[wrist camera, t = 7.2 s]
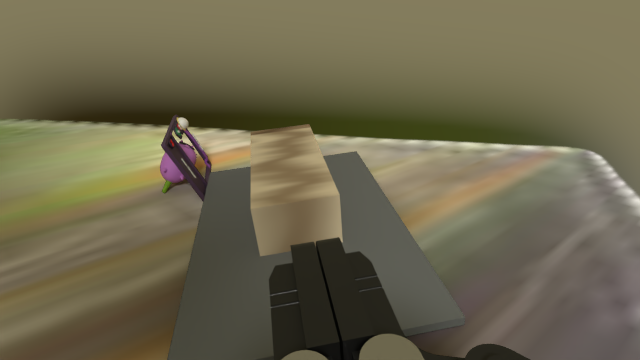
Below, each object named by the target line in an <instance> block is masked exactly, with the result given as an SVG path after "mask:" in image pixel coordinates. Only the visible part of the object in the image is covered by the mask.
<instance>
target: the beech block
mask: <svg viewBox="0 0 640 360" xmlns="http://www.w3.org/2000/svg"><path fill="white" fill-rule="evenodd" d="M250 209H251V214H252V219H253V224H254V229H255V234H256V238H257V243H258V248H259V253H260V256H266V255H271V254H277V253H283V252H289V251H291V247H290V245H295V244H301V243H308V242H314V243H315V247H316V241H319V240H325V239H331V238H337V237H339V238H340V240H341V242H343V237H342V222H341V207H340V194H339V192H338V190H337V188H336V185H335V183H334V181H333V178H332V176H331V174H330V171H329V169H328V167H327V164H326V162H325V160H324V158H323V155H322V153H321V151H320V148H319V146H318V144H317V141H316V139H315V137H314V134H313V132H312V130H311V128H310V125H309V124H307V125H299V126H291V127H285V128H277V129H269V130H262V131H254V132H251V207H250Z"/></svg>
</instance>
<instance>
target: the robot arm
mask: <svg viewBox="0 0 640 360" xmlns="http://www.w3.org/2000/svg"><path fill="white" fill-rule="evenodd" d="M290 247H291V254H292V261H293V263H287V264H282V265H276V266H275V267H274V269H273V271H272V273H271V275H270V278H269V291H270V306H271V323H272V338H273V354H274V360H530V359H528V358H526V357H524V356H522V355H520V354H518V353H516V352H514V351H513V350H511V349H508V348H506V347H503V346H500V345H495V344H482V345H478V346H476V347H474V348H472V349H471V350H470V351H469V352H468V353H467V355H466V357H465V358H458V357H449V356H440V355H434V354H431V353H428V352H425V351H423V350H421V349H419V348H418V347H416V346H415V345H414V344H413V343H412V342H411V341H409V340H408V339H407V338H406V336H405V335H404V333H403V331H402V329H401V327H400V325H399V323H398V320H397V318H396V316H395V314H394V311H393V309H392V307H391V305H390V302H389V300H388V298H387V296H386V293H385V291H384V289H383V288H382V284H381V282H380V280H379V278H378V277H377V273H376V271H375V269H374V266H373V264H372V262H371V261H370V260H369V259H368V258H367V257H366V256H364V255H363V254H362V253H361V252H360V251H357V252H351V253H345V251H344V248H343V245H342V242H341V240H340V238H339V237H337V238H331V239H325V240H319V241H316V247H315V243H314V242H308V243H301V244H295V245H290Z"/></svg>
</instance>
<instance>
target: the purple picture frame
mask: <svg viewBox="0 0 640 360" xmlns="http://www.w3.org/2000/svg"><path fill="white" fill-rule="evenodd" d="M187 127H188V121H187V120H186V119H185V118H179V117H178V115H175V116H174V117H173V119H172V121H171V123H170V126H169V128H168V130H167V133H166V135H165V137H164V140H163V142H162V144H161V146H162V148H163V149H164V151H165V154H164V156H163V158H162V161H161V165H160V171H161V174H162V176H163V178H164V179H165V180H166V183H165V185H164V187H163V190H162V192H163V193H166V192H167V190H168V188H169V186H170V185H171V183H178V182H181V181H183V180H184V179H185V178H186V180H187V181H188V182H189V183H190V185H191V186H192V187H193V189H194V190H195V191H196V193H197V194H198V195H199V197H200V198H201V199H202V201H203V202H204V197H205V193H206V188H207V184H208V180H209V175H210V173H211V162H210V161H209V160H208V157H207V155H206V153H205V152H204V149H203V148H202V146H201V145H200V144H199V142H198V141H197V139H196V138H195V136H194V135H193V134H192V135H193V136H194V137H193V136H192V135H191V134H190V132H189V131H188V130H187ZM173 130H174V132H175V134H176V136H178V137H179V138H180V139H182V135H183V133H185V134H186V136H187V137H188V138H189V140H190V141H191V143H192V144H193V146H194V147H195V148H196V150H197V151H198V153H199V154H200V155H201V157H202V158H203V160H204V161H205V164H206V165H207V166H206V175H205V180H204V178H203V177H202V175H201V174H200V173H199V171H198V170H197V169H196V167H195V166H194V165H195V162H196V158H197V157H196V155H197V154H195V152H194V150H195V149H194V148H193V146H190V145H188V144H186V143H183V141H182V140H181V141H180V142H179V143H177V141H176V140H175V138H174V137H173V136H172V131H173ZM181 134H182V135H181ZM195 139H196V140H195Z"/></svg>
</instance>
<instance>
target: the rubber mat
mask: <svg viewBox="0 0 640 360" xmlns="http://www.w3.org/2000/svg"><path fill="white" fill-rule="evenodd" d="M323 158H324V160H325V162H326V164H327V167H328V169H329V171H330V174H331V176H332V178H333V181H334V183H335V185H336V188H337V190H338V192H339V194H340V207H341V222H342V237H343V242H342V245H343V248H344V251H345V253H351V252H357V251H360V252H361V253H362V254H363V255H364V256H366V257H367V258H368V259H369V260H370V261H371V262H372V264H373V266H374V269H375V271H376V273H377V277H378V278H379V280H380V282H381V284H382V288H383V289H384V291H385V293H386V296H387V298H388V300H389V302H390V305H391V307H392V309H393V311H394V314H395V316H396V318H397V320H398V323H399V325H400V327H401V329H402V331H403V333H404V335H405V336H411V335H416V334H421V333H426V332H431V331H436V330H441V329H446V328H451V327H455V326H460V325H464V322H465V316H464V315H463V313H462V311H461V310H460V308H459V307H458V305H457V304H456V302H455V301H454V299H453V298H452V296H451V295H450V293H449V292H448V290H447V289H446V287H445V286H444V284H443V283H442V281H441V279H440V278H439V276H438V275H437V273H436V272H435V270H434V269H433V267H432V266H431V264H430V263H429V261H428V260H427V258H426V257H425V255H424V254H423V252H422V251H421V249H420V247H419V246H418V244H417V243H416V241H415V240H414V238H413V237H412V235H411V234H410V232H409V231H408V229H407V228H406V226H405V225H404V223H403V222H402V220H401V219H400V217H399V215H398V214H397V212H396V211H395V209H394V208H393V206H392V205H391V203H390V202H389V200H388V199H387V197H386V196H385V194H384V193H383V191H382V190H381V188H380V187H379V185H378V183H377V182H376V180H375V179H374V177H373V176H372V174H371V173H370V171H369V170H368V168H367V167H366V165H365V164H364V162H363V161H362V159H361V158H360V156H359V155H358V153H357V151H356V152H349V153H342V154H335V155H328V156H323ZM250 207H251V167H246V168H239V169H232V170H225V171H218V172H211V173H210V175H209V180H208V184H207V188H206V193H205V197H204V202H203V206H202V210H201V215H200V219H199V223H198V228H197V232H196V236H195V241H194V245H193V250H192V254H191V258H190V263H189V267H188V271H187V276H186V280H185V284H184V289H183V293H182V297H181V302H180V306H179V311H178V315H177V319H176V324H175V328H174V332H173V337H172V341H171V345H170V350H169V354H168V359H167V360H274V354H273V338H272V323H271V306H270V291H269V278H270V275H271V273H272V271H273V269H274V267H275V266H276V265H282V264H287V263H293V261H292V254H291V251H289V252H283V253H277V254H271V255H266V256H260V253H259V248H258V243H257V238H256V234H255V229H254V224H253V219H252V214H251V209H250Z"/></svg>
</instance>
